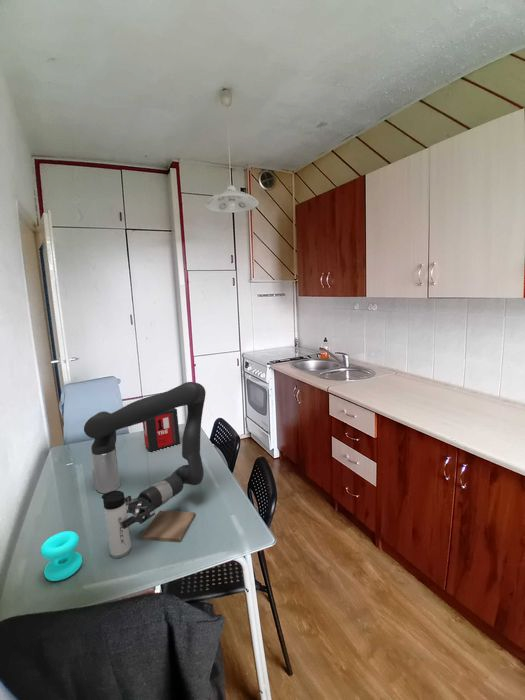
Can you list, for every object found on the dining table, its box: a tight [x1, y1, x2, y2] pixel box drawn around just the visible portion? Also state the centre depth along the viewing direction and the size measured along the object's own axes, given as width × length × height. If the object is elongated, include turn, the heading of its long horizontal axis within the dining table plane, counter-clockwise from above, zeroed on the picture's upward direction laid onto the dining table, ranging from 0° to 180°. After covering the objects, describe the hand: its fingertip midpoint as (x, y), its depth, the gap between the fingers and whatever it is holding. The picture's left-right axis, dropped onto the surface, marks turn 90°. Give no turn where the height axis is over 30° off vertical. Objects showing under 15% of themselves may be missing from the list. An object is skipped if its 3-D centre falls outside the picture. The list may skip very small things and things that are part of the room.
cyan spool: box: [40, 530, 83, 582], centre depth 105 cm, size 10×10×10 cm
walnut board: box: [140, 510, 197, 543], centre depth 123 cm, size 14×14×1 cm
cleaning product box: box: [142, 408, 181, 453], centre depth 189 cm, size 16×9×20 cm, turn 122°
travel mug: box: [101, 490, 132, 559], centre depth 110 cm, size 6×7×20 cm
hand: (114, 521), depth 110 cm, fingers open, 8 cm apart
